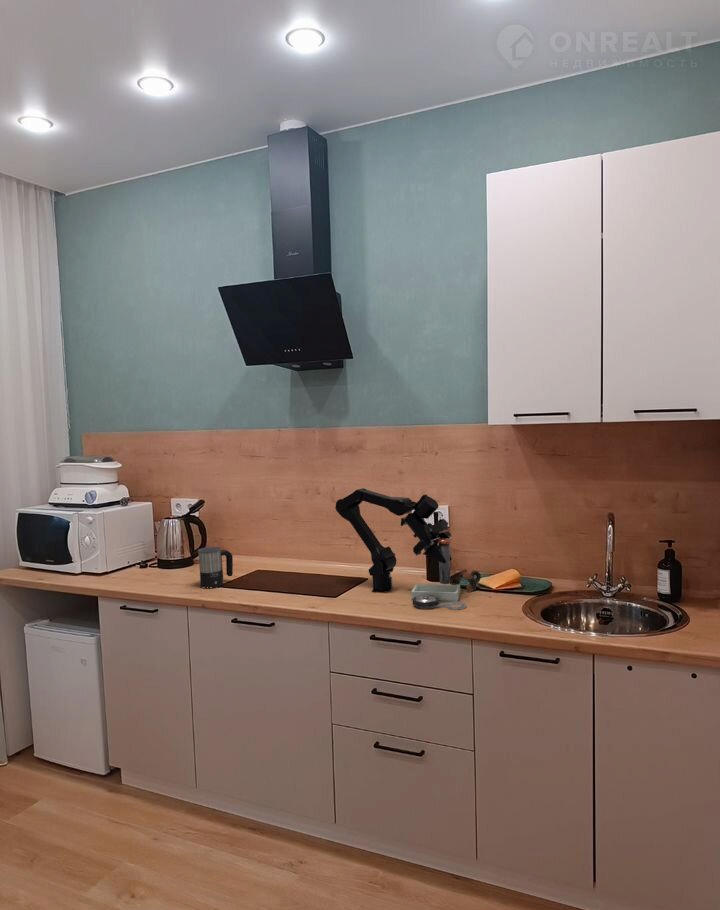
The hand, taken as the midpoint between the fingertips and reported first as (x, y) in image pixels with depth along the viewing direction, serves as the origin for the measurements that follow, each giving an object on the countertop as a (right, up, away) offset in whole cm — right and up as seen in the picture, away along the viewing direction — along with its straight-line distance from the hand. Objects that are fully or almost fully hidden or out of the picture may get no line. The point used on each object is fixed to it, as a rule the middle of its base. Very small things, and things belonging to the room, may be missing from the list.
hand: (448, 561), depth 230 cm
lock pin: (-1, -8, +1) cm, 8 cm away
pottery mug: (+9, -12, +14) cm, 21 cm away
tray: (-3, -13, +5) cm, 15 cm away
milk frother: (-90, -15, +38) cm, 99 cm away
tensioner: (-4, -14, -6) cm, 16 cm away
